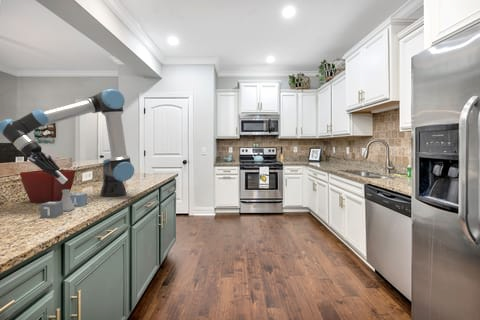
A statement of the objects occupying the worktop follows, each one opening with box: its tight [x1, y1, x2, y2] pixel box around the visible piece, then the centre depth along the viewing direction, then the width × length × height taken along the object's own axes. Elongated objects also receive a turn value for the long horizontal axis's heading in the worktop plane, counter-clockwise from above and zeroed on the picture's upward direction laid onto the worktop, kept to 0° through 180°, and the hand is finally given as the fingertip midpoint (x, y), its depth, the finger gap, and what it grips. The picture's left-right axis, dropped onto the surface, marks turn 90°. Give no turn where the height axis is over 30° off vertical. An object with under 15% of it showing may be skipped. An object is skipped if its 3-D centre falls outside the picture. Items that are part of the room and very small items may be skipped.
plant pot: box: [19, 169, 76, 203], centre depth 154 cm, size 19×19×17 cm
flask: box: [60, 190, 76, 212], centre depth 131 cm, size 7×7×10 cm
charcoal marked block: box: [39, 201, 64, 219], centre depth 120 cm, size 6×6×6 cm
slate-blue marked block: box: [70, 192, 88, 208], centre depth 142 cm, size 6×6×6 cm
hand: (65, 181), depth 130 cm, fingers closed
